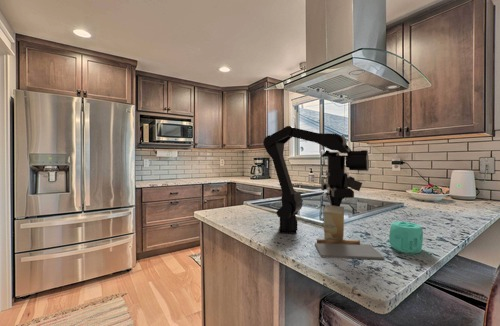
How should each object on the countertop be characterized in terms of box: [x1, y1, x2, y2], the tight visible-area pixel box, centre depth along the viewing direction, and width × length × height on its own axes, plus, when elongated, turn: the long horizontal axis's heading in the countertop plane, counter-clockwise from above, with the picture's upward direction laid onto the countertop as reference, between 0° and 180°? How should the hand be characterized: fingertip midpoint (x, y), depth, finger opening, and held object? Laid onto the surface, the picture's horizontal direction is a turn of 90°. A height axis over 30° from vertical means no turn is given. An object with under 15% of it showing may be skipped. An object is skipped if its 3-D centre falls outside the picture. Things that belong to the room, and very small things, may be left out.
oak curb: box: [316, 238, 361, 244], centre depth 81 cm, size 14×1×2 cm, turn 86°
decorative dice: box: [388, 221, 424, 255], centre depth 78 cm, size 8×8×8 cm
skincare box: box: [323, 204, 345, 240], centre depth 83 cm, size 6×4×12 cm
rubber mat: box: [314, 242, 385, 260], centre depth 75 cm, size 18×10×1 cm, turn 86°
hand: (335, 213), depth 85 cm, fingers closed
